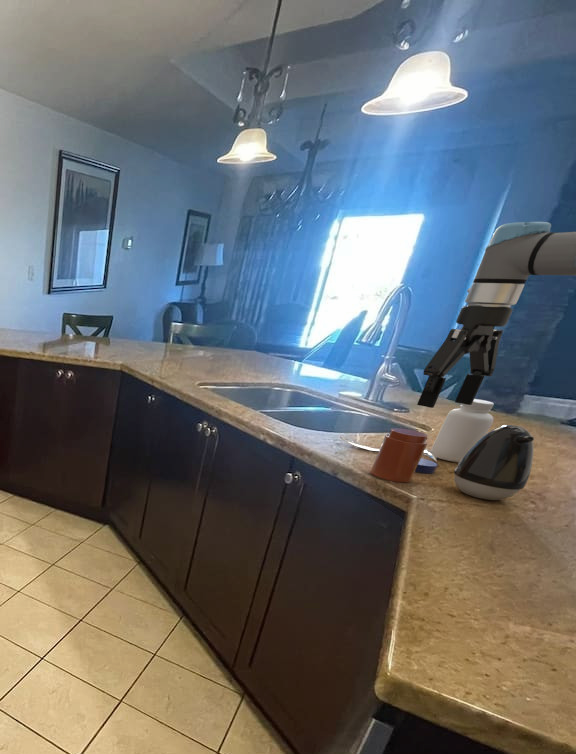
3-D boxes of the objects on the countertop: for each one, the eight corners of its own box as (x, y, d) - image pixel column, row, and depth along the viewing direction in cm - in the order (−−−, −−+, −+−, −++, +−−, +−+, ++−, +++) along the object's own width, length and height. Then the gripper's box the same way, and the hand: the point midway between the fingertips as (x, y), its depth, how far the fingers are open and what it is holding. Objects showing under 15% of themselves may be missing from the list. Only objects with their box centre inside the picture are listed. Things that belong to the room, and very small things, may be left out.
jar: (413, 478, 110) (433, 433, 106) (406, 485, 106) (427, 439, 102) (374, 468, 115) (392, 425, 111) (366, 474, 111) (384, 430, 107)
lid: (385, 463, 119) (388, 456, 118) (405, 460, 121) (408, 453, 120) (421, 474, 112) (424, 467, 112) (441, 471, 115) (445, 464, 114)
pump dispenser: (462, 500, 100) (499, 428, 93) (436, 481, 108) (468, 415, 102) (528, 510, 96) (571, 436, 90) (495, 490, 105) (532, 422, 99)
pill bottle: (476, 466, 119) (507, 406, 113) (432, 459, 123) (460, 400, 117) (466, 457, 125) (495, 400, 119) (425, 450, 129) (451, 395, 123)
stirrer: (343, 431, 129) (344, 427, 132) (337, 443, 131) (338, 440, 134) (444, 455, 118) (442, 450, 121) (436, 468, 119) (435, 463, 122)
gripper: (499, 305, 109) (457, 398, 117) (428, 303, 102) (389, 403, 110) (546, 307, 103) (499, 406, 111) (474, 305, 95) (429, 411, 103)
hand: (444, 405), depth 110 cm, fingers open, 13 cm apart
